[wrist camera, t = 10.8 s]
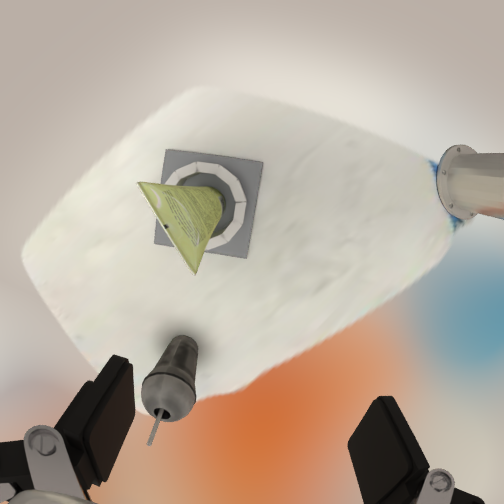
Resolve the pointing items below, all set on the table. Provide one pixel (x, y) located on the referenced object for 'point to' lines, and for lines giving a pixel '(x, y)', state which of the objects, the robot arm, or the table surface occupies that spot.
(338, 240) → the table surface
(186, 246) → the tube
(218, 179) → the socket board
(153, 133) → the table surface
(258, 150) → the table surface
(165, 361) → the beverage cup
